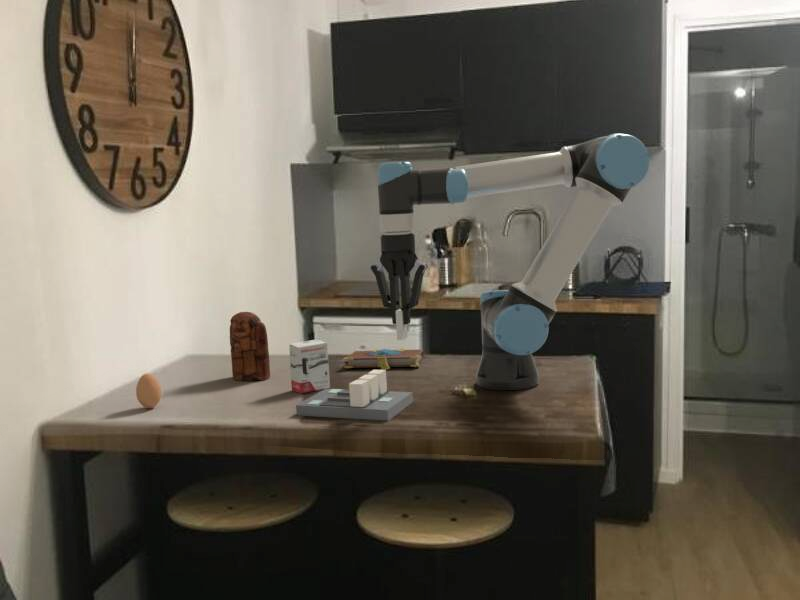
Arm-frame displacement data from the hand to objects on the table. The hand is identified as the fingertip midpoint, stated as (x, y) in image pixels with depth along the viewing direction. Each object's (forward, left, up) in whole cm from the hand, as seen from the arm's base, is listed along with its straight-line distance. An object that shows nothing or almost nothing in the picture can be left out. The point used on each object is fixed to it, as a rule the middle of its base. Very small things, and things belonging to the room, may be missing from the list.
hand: (402, 338), depth 189 cm
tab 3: (+7, 0, -13) cm, 15 cm away
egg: (+60, +13, -16) cm, 64 cm away
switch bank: (+10, +5, -15) cm, 19 cm away
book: (+23, -39, -16) cm, 48 cm away
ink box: (+29, -10, -16) cm, 34 cm away
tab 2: (+7, +5, -13) cm, 15 cm away
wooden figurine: (+51, -18, -16) cm, 57 cm away
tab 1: (+7, +10, -13) cm, 18 cm away
